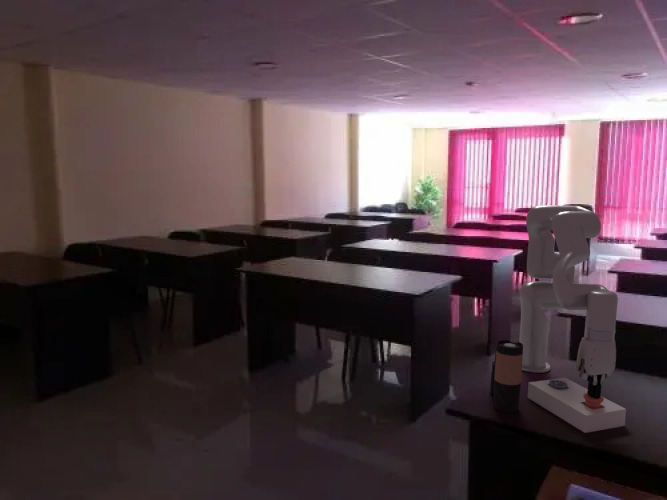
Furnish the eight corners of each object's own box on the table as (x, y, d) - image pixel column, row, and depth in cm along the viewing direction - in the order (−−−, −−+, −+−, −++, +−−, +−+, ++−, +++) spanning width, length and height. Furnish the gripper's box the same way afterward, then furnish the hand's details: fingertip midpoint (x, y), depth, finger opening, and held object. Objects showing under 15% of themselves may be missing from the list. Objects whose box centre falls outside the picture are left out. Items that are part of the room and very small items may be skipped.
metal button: (544, 394, 169) (545, 380, 169) (558, 392, 171) (559, 379, 170) (556, 401, 164) (557, 387, 164) (570, 399, 166) (571, 385, 165)
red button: (578, 408, 156) (579, 393, 155) (592, 406, 158) (593, 391, 157) (591, 416, 151) (593, 401, 150) (606, 413, 153) (608, 398, 152)
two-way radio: (490, 388, 177) (492, 344, 175) (504, 390, 176) (507, 345, 174) (490, 395, 172) (492, 350, 170) (504, 397, 171) (507, 351, 168)
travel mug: (499, 413, 159) (503, 348, 156) (488, 402, 166) (492, 340, 163) (524, 412, 160) (528, 347, 157) (511, 401, 168) (515, 339, 164)
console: (527, 397, 170) (528, 382, 170) (563, 392, 175) (564, 377, 174) (584, 432, 148) (586, 415, 147) (624, 425, 152) (626, 409, 152)
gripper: (609, 328, 157) (604, 388, 159) (567, 332, 152) (562, 394, 155) (631, 335, 150) (625, 398, 152) (588, 340, 145) (582, 405, 148)
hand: (593, 396), depth 154 cm, fingers closed
